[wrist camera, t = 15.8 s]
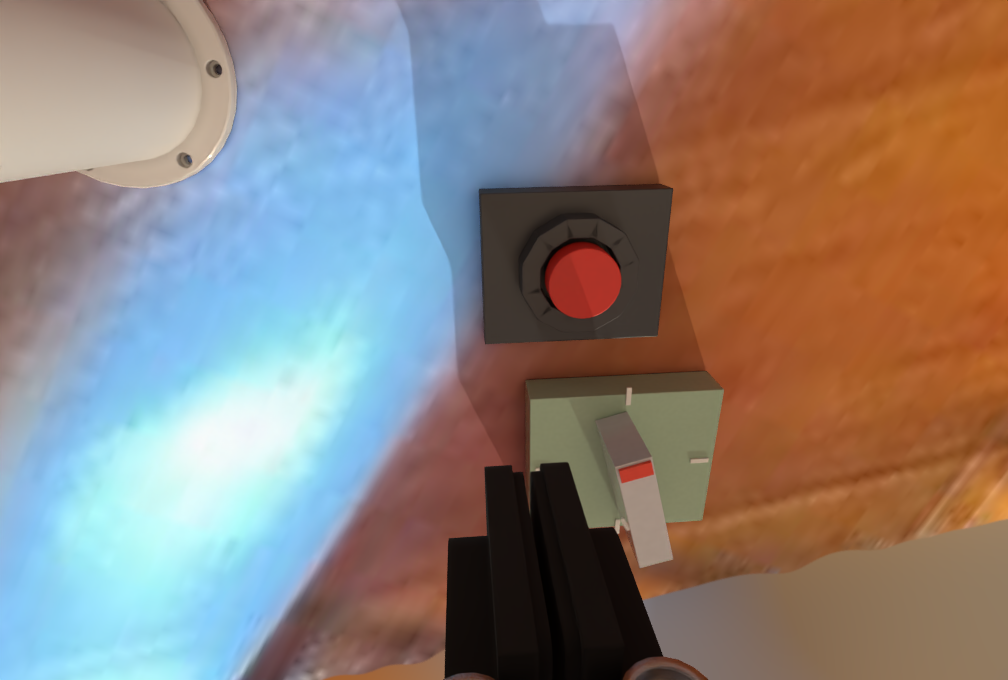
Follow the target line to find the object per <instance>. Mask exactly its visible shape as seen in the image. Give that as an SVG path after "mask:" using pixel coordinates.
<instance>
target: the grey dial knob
mask: <svg viewBox="0 0 1008 680" xmlns="http://www.w3.org/2000/svg"><path fill="white" fill-rule="evenodd" d="M595 423H596V427H597V431H598V435H599V439H600V443H601V447H602V451H603V455H604V459H605V463H606V466H607V470H608V474H609V478H610V482H611V486H612V490H613V494H614V498H615V502H616V506H617V510H618V514H619V516H620V519H621V522H622V524H623V527H624V529H625V532H626V534H627V537H628V540H629V542H630V545H631V547H632V550H633V552H634V555H635V557H636V560H637V563H638V565H639V567H640V568H642V567H646V566H650V565H653V564H657V563H661V562H665V561H668V560H672V559H673V556H672V551H671V546H670V541H669V536H668V531H667V527H666V522H665V517H664V512H663V507H662V502H661V497H660V493H659V488H658V483H657V478H656V473H655V468H654V464H653V459H652V456H651V454H650V452H649V450H648V449H647V447H646V445H645V443H644V441H643V439H642V438H641V436H640V434H639V432H638V430H637V429H636V427H635V425H634V423H633V421H632V420H631V418H630V416H629V414H628V412H624V413H620V414H617V415H613V416H610V417H606V418H602V419H599V420H596V421H595Z"/></svg>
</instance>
